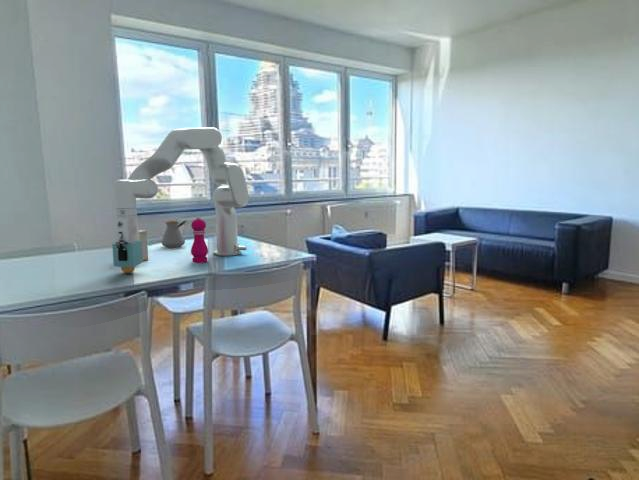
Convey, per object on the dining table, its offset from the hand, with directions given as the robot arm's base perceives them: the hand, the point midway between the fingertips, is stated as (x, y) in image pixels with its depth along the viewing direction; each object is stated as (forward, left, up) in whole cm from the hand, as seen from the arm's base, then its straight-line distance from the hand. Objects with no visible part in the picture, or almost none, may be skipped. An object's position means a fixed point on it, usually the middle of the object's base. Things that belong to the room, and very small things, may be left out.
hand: (128, 258), depth 177 cm
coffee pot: (+1, -53, -6) cm, 54 cm away
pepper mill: (-20, -23, -6) cm, 31 cm away
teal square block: (0, 0, -2) cm, 2 cm away
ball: (0, 0, -3) cm, 3 cm away
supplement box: (+8, -24, -6) cm, 26 cm away
